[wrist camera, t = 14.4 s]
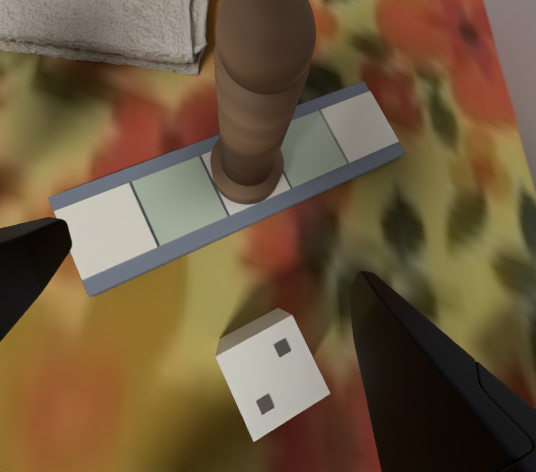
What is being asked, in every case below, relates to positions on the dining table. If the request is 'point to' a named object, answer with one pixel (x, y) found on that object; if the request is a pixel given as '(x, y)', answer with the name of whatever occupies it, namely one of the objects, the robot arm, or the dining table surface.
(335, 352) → the dining table surface
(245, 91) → the pawn
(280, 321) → the die
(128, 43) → the washcloth
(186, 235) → the track board
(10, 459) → the dining table surface
